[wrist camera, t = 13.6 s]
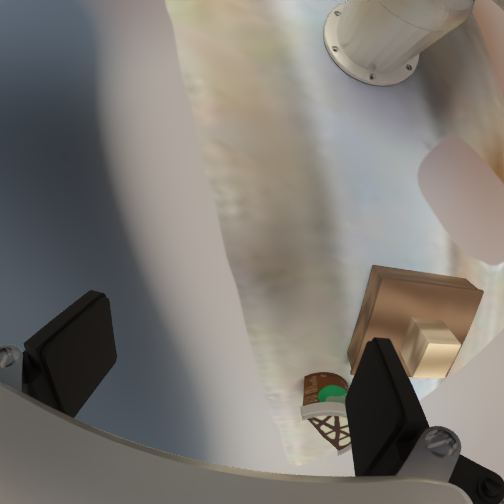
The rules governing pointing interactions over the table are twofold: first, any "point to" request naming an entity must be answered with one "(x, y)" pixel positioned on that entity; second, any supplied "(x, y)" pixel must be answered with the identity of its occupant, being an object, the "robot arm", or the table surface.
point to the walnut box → (411, 307)
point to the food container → (327, 408)
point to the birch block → (428, 348)
